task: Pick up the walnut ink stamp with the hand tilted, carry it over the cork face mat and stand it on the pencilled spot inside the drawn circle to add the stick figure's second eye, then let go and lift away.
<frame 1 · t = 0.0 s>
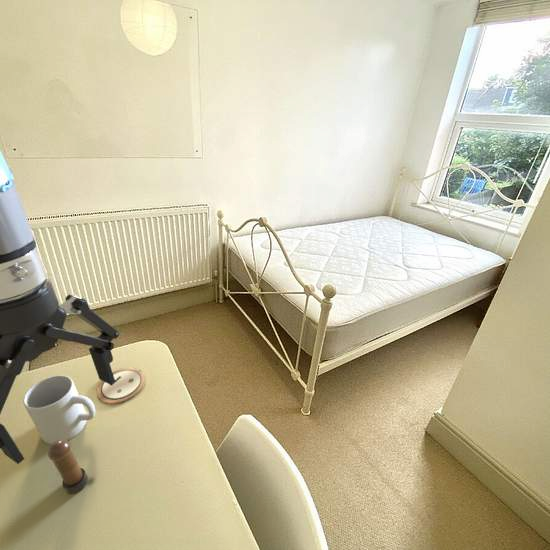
hand: (66, 414, 44), 23 cm above the table, tool pointing down, fingers open, 13 cm apart
stamp: (77, 483, 57), on the table
face mat: (122, 385, 77), on the table
mug: (73, 426, 67), on the table
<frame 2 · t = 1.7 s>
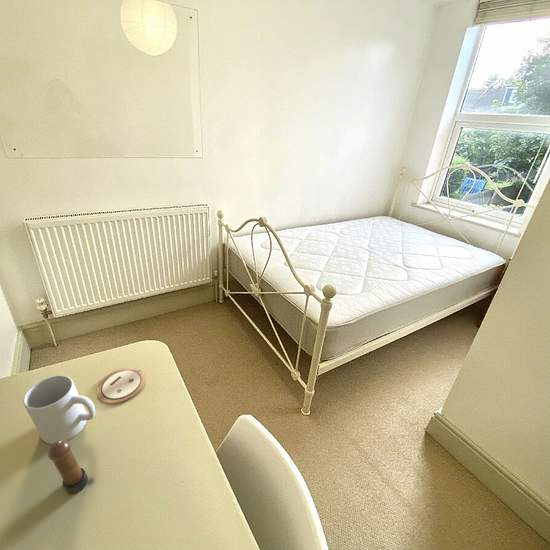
nothing on the table moved.
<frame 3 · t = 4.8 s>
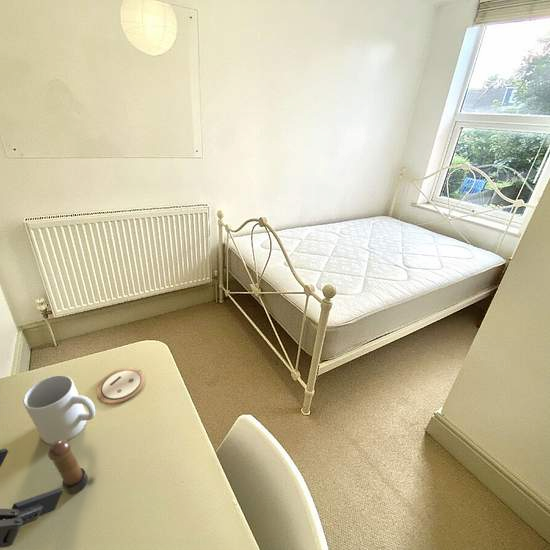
hand: (29, 477, 48), 11 cm above the table, tool tilted 45°, fingers open, 13 cm apart
nothing on the table moved.
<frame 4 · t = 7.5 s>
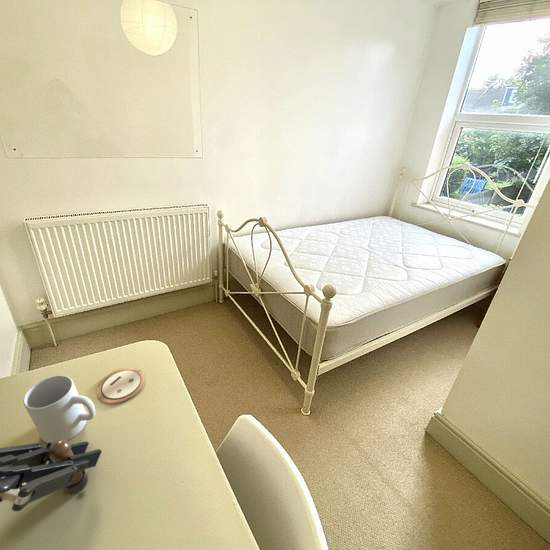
hand: (90, 453, 58), 4 cm above the table, tool tilted 45°, fingers closed on stamp, 3 cm apart
stamp: (77, 483, 57), on the table, touching gripper
everything else where it was.
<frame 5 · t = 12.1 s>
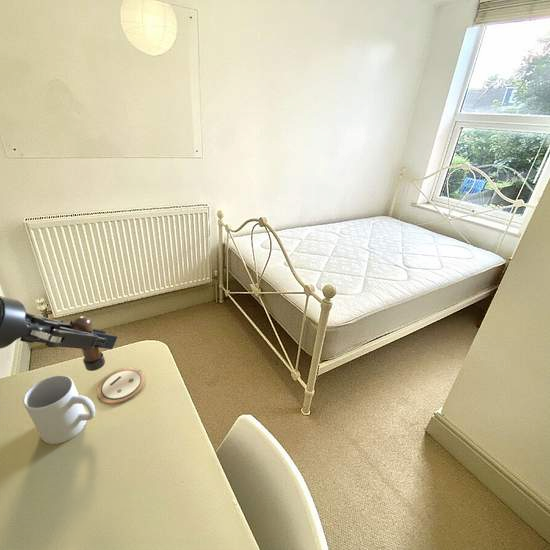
hand: (107, 339, 65), 18 cm above the table, tool tilted 45°, fingers closed on stamp, 3 cm apart
stamp: (95, 364, 63), point 14 cm above the table, touching gripper
everything else where it was.
when the fingers open (4 cm above the table, at t = 16.6 s): stamp stays where it is, resting on face mat.
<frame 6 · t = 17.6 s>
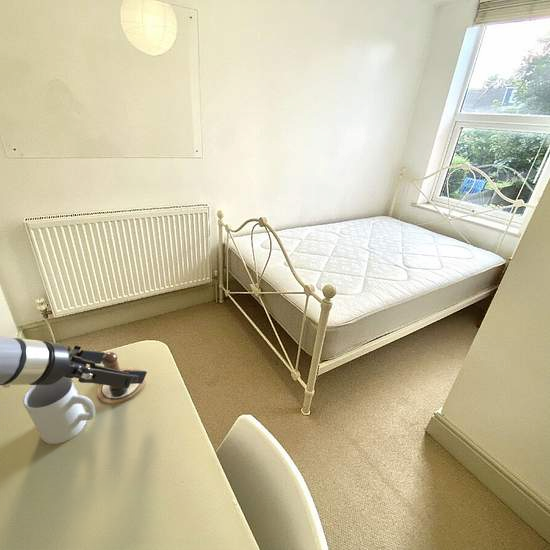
hand: (122, 367, 74), 6 cm above the table, tool tilted 45°, fingers open, 13 cm apart
stamp: (119, 390, 74), point 1 cm above the table, touching face mat
everything else where it was.
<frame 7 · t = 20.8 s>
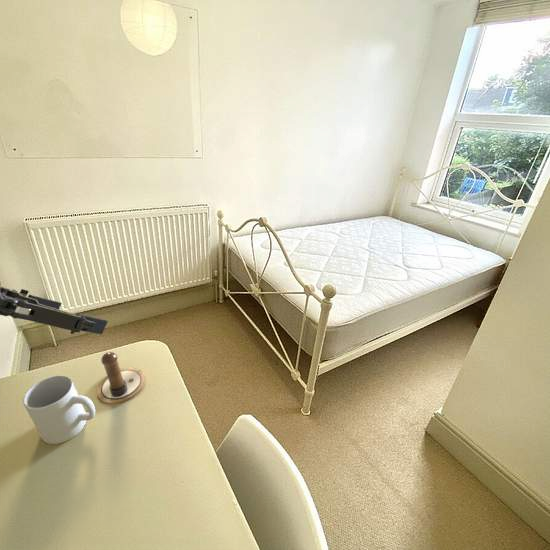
hand: (80, 317, 63), 23 cm above the table, tool tilted 45°, fingers open, 13 cm apart
nothing on the table moved.
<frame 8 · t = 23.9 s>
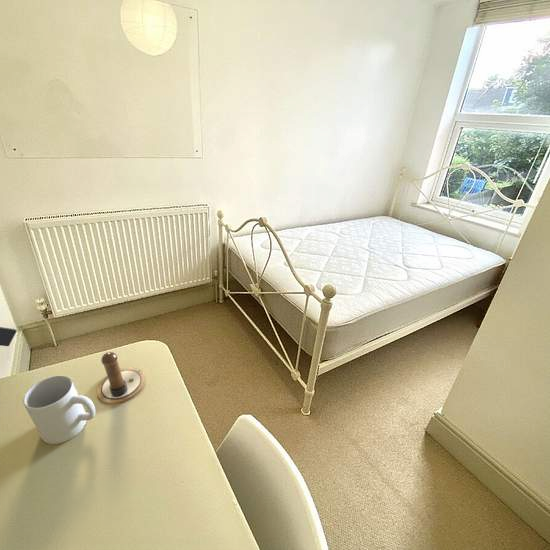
nothing on the table moved.
at the end: stamp 0.1 cm from the target spot on the face mat, point 0.6 cm above the face mat's base; stamp tilted 0°; the gripper is holding nothing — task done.
